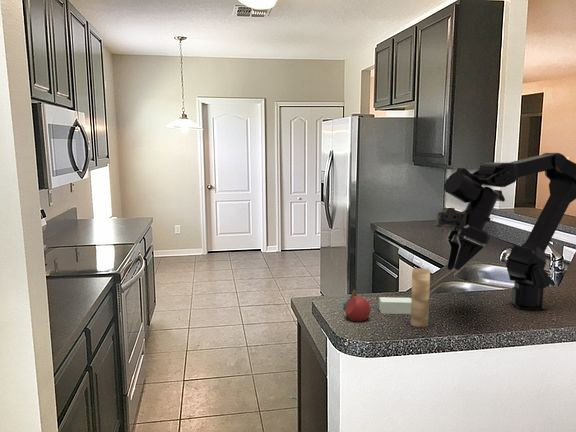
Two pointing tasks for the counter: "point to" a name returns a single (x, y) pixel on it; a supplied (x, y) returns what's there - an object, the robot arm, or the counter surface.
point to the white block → (394, 305)
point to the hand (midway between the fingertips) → (452, 269)
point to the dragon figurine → (351, 297)
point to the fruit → (358, 308)
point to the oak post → (420, 297)
